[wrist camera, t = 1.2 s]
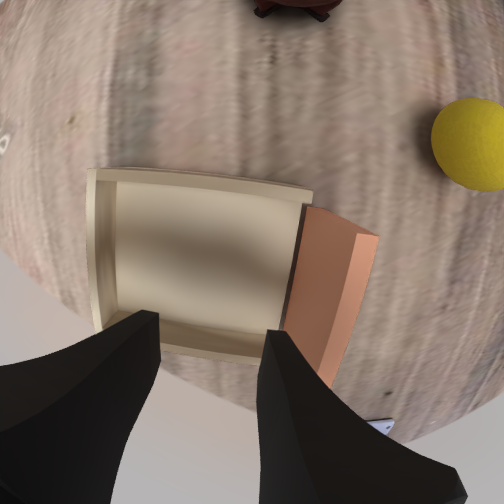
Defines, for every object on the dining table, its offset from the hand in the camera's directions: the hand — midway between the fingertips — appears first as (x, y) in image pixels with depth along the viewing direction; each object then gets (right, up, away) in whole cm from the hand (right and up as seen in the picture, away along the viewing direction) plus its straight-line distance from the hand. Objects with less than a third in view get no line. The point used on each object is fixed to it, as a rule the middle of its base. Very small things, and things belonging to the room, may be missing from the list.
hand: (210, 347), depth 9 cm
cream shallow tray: (-2, +3, +9) cm, 10 cm away
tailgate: (+4, +2, +8) cm, 9 cm away
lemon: (+14, +11, +7) cm, 19 cm away
